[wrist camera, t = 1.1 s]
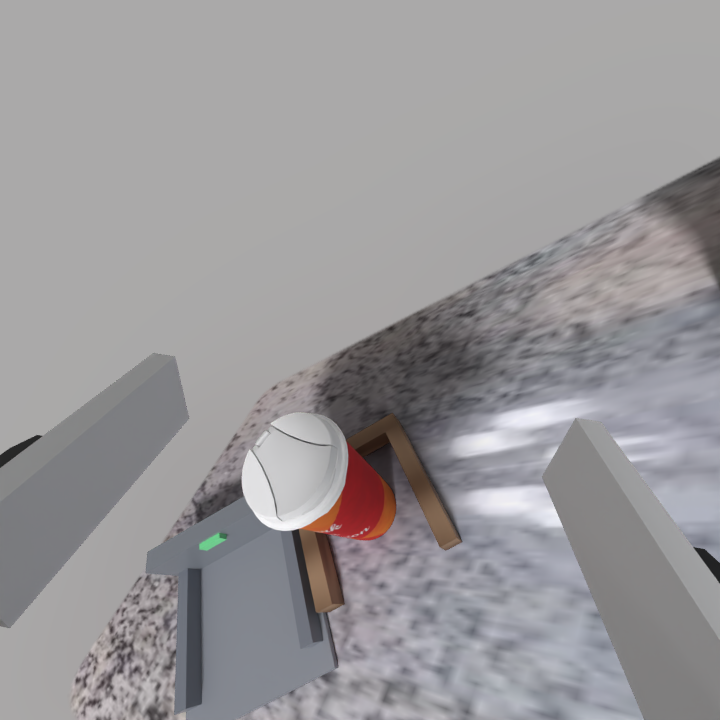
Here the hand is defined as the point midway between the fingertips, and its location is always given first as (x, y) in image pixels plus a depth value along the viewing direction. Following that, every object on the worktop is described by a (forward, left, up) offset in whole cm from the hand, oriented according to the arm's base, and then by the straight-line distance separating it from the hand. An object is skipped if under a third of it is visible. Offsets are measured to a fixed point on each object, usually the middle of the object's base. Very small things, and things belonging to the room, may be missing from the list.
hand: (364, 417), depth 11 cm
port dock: (+18, -14, -24) cm, 33 cm away
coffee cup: (+4, -9, -24) cm, 26 cm away
